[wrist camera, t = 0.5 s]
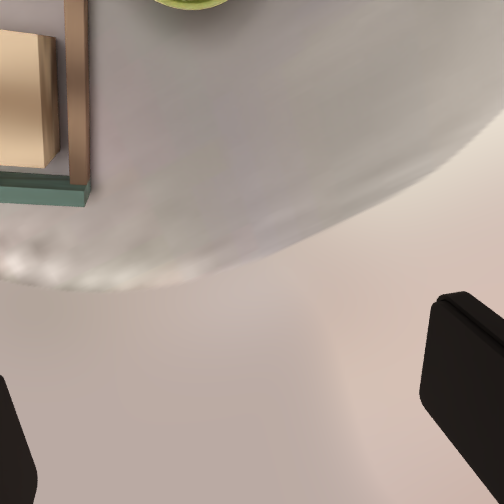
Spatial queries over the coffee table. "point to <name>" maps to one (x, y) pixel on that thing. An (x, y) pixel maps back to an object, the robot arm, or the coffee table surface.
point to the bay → (45, 113)
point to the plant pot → (191, 4)
